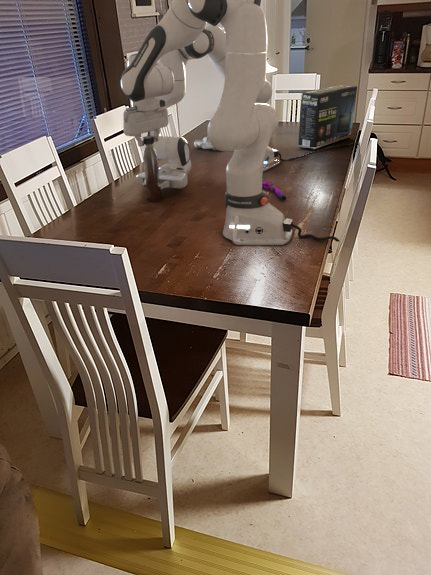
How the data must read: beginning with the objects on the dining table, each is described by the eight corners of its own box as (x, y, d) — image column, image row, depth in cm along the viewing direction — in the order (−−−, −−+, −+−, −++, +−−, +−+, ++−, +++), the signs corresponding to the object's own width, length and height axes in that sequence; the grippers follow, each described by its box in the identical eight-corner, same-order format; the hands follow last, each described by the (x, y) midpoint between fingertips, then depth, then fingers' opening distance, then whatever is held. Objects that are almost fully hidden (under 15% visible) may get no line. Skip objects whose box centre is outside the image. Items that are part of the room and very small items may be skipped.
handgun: (253, 185, 189) (253, 181, 188) (271, 183, 190) (271, 179, 189) (267, 202, 172) (267, 197, 171) (287, 200, 173) (287, 195, 172)
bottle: (155, 202, 177) (149, 141, 165) (145, 200, 180) (137, 139, 168) (164, 198, 181) (158, 138, 169) (153, 195, 183) (147, 136, 171)
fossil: (217, 145, 233) (197, 126, 236) (207, 162, 240) (188, 144, 243) (235, 143, 247) (216, 125, 250) (225, 159, 253) (207, 142, 257)
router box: (314, 151, 231) (318, 94, 217) (296, 148, 237) (299, 92, 224) (352, 138, 251) (358, 85, 238) (335, 135, 258) (340, 83, 245)
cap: (143, 142, 171) (142, 136, 169) (154, 141, 171) (153, 135, 170) (143, 144, 167) (142, 138, 166) (154, 144, 168) (153, 138, 166)
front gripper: (129, 109, 153) (134, 151, 160) (169, 100, 167) (172, 138, 174) (116, 108, 157) (122, 149, 164) (157, 99, 171) (160, 137, 178)
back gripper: (144, 166, 189) (127, 176, 178) (190, 169, 183) (175, 180, 172) (146, 180, 193) (129, 191, 182) (191, 185, 186) (176, 196, 175)
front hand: (148, 143), depth 169 cm, fingers open, 6 cm apart
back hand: (152, 186), depth 177 cm, fingers closed on bottle, 5 cm apart
